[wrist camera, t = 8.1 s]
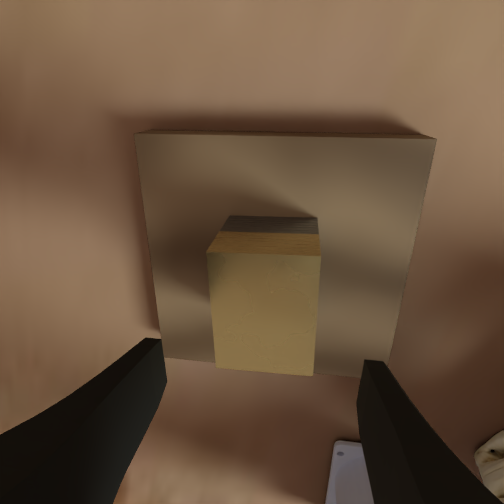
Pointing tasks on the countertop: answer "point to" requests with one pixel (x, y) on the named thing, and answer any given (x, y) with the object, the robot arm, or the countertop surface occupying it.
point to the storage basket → (492, 464)
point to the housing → (265, 293)
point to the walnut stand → (287, 205)
